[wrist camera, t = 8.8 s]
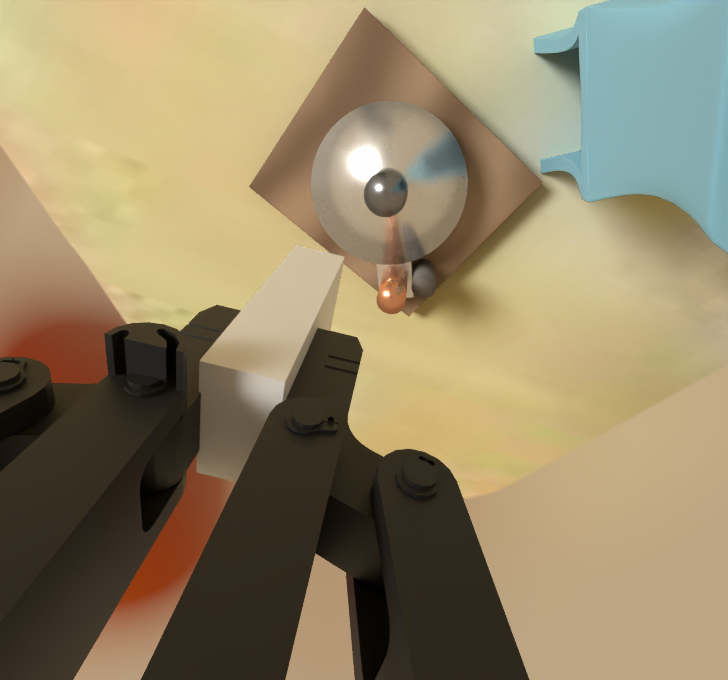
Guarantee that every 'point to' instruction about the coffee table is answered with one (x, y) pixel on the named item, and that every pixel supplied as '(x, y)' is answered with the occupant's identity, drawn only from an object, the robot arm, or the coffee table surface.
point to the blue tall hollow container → (652, 104)
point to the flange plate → (401, 151)
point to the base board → (405, 84)
